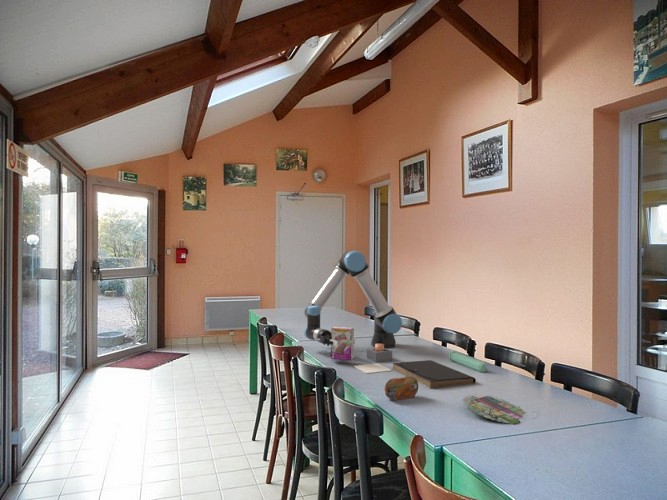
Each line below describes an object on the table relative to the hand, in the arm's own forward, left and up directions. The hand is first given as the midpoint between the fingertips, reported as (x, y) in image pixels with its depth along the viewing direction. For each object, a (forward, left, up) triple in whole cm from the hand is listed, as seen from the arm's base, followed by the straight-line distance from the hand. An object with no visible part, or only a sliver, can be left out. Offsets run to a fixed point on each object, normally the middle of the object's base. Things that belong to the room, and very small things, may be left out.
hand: (346, 342), depth 236 cm
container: (-56, +27, -12) cm, 63 cm away
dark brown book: (-28, +35, -12) cm, 46 cm away
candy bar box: (0, -3, -9) cm, 10 cm away
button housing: (-22, -3, -11) cm, 24 cm away
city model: (-21, +84, -12) cm, 87 cm away
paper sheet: (-9, +13, -11) cm, 19 cm away
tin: (+2, +57, -11) cm, 58 cm away
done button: (-22, -3, -8) cm, 23 cm away
